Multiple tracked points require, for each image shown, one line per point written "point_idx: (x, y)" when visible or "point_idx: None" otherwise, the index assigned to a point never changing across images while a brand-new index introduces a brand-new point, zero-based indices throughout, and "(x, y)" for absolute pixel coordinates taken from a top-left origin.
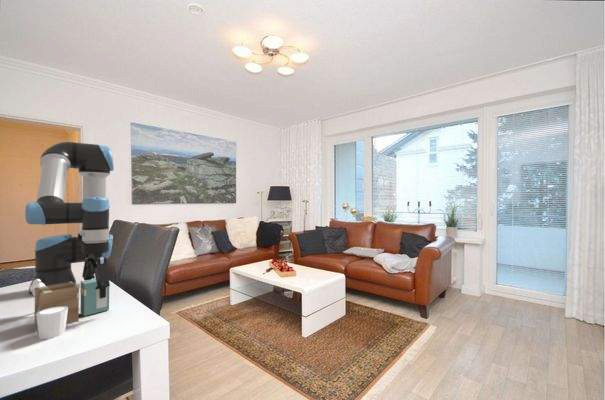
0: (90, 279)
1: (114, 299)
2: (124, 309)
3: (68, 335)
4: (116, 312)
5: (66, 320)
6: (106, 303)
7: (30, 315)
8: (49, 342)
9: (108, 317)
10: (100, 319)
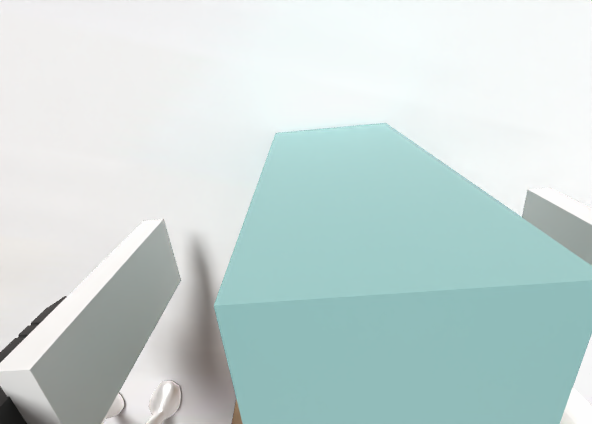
0: (11, 409)
1: (87, 9)
2: (470, 9)
3: (589, 344)
4: (482, 86)
5: (579, 402)
6: (572, 201)
7: (140, 419)
8: (586, 394)
9: (533, 156)
10: (519, 202)
